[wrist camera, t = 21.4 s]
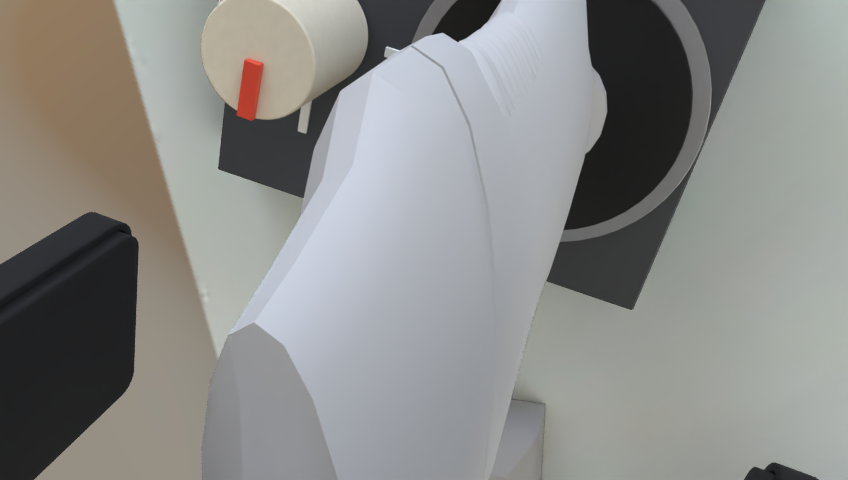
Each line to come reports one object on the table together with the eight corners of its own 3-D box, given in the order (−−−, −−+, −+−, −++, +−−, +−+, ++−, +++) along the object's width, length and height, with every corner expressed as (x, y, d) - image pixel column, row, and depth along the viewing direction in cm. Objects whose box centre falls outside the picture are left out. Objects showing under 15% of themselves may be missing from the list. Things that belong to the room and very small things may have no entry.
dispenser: (591, 249, 29) (443, 990, 10) (483, 235, 30) (156, 882, 11) (626, -55, 24) (475, 223, 5) (497, -59, 25) (-31, 160, 6)
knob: (278, -40, 28) (201, -23, 23) (379, -7, 28) (321, 18, 23) (262, 64, 30) (188, 99, 25) (356, 97, 30) (299, 139, 25)
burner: (766, -10, 24) (768, -7, 24) (644, 276, 29) (644, 283, 29) (442, -99, 26) (438, -98, 25) (380, 188, 31) (375, 193, 30)
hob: (781, -68, 26) (793, -62, 23) (634, 281, 32) (632, 313, 30) (272, -201, 28) (237, -208, 26) (233, 147, 35) (202, 166, 33)
